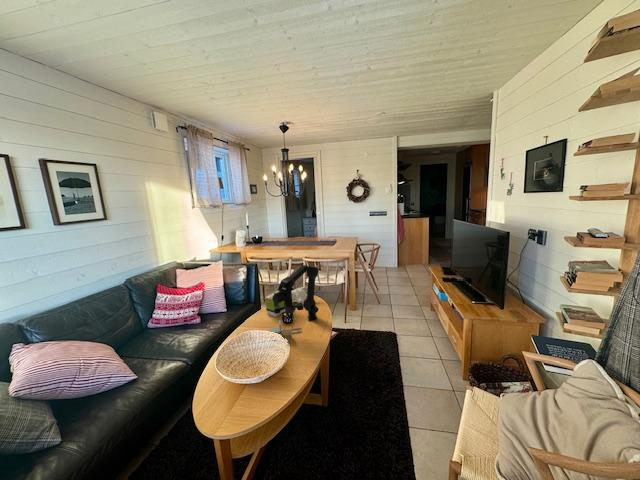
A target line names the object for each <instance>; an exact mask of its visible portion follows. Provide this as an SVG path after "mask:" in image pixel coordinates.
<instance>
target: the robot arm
mask: <svg viewBox="0 0 640 480" xmlns="http://www.w3.org/2000/svg"><path fill="white" fill-rule="evenodd" d="M305 273H306V275H307V278H308V279H307V287H308V290H307V292H306V295H307V298H306V300H304V304H302V303H298V302H296V304H294V301H292V291H293V290H295V289H294V288H293V287H294V286H295V283H296V282H297V281H298V280H299V279H300V278H301V277H302V276H303V275H304V274H305ZM318 276H319V268H318V267H317V266H313V265H305V264H302V265H300V267H299V268H298V269H297V270H296V271H294V272H293V273H292V274H291V275H289V276H286V277H284V278H283V279H282V280H281V281H280V283H279V285H278V287H277V291H279V292H277V293H274V292H273V293H274V296H273V298H272V300H273V302H274V303H275V304H278V303H280V302H282V301H284V307H280V306H275V307H274V312H275V314H277V313H280V312H281V311H280V310H283V314H285V315H286V316H287V319H288V320H289V321H291V319H292V316H293V313H295V312H296V310H298V311H303V310H304V309H305V311H306V312H307V313H308V314H307V321H308V322H309V321H310V322H312V321H317V320H318V316H317V313H318V312H319V307H318V306H317V305H316V301H315V289H316V287H315V285H316V279H317V277H318Z"/></svg>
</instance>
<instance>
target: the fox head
mask: <svg viewBox="0 0 640 480" xmlns="http://www.w3.org/2000/svg"><path fill="white" fill-rule="evenodd" d="M307 290H308V286H302V287H298V288H295V289H294V290H292V302H295V301H296V303H302V304H304V300H306V299H307Z"/></svg>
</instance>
